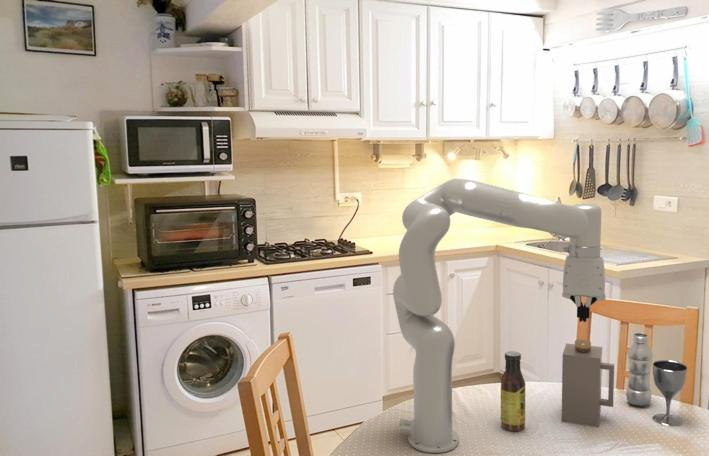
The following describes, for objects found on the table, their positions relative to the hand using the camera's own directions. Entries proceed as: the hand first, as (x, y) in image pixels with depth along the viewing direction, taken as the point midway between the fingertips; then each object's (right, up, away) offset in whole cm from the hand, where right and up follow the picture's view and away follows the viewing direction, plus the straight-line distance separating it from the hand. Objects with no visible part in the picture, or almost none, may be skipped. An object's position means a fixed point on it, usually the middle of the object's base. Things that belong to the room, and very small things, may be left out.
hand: (583, 320), depth 163 cm
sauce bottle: (-19, -28, 0) cm, 34 cm away
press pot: (+2, -27, +3) cm, 27 cm away
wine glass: (+23, -27, +1) cm, 35 cm away
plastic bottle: (+20, -25, +11) cm, 34 cm away
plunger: (+1, -25, +4) cm, 25 cm away
